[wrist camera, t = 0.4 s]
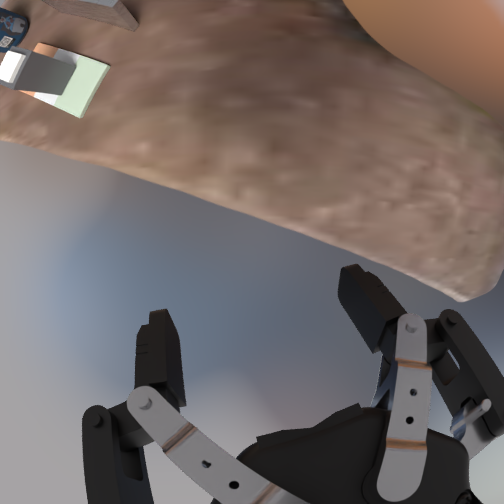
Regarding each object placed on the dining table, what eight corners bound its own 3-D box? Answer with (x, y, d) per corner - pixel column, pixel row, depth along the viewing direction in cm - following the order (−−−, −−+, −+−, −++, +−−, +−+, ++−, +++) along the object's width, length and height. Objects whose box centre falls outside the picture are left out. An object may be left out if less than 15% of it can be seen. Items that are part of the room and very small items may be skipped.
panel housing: (139, 25, 23) (119, -1, 15) (134, 31, 24) (112, 7, 16) (66, 6, 18) (38, -12, 10) (61, 12, 19) (33, -5, 11)
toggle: (76, 66, 23) (28, 49, 13) (61, 95, 25) (8, 89, 14) (56, 59, 22) (8, 44, 11) (42, 87, 23) (-10, 81, 13)
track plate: (110, 66, 25) (107, 65, 25) (82, 117, 28) (79, 117, 27) (41, 43, 20) (38, 42, 20) (18, 89, 23) (15, 88, 22)
